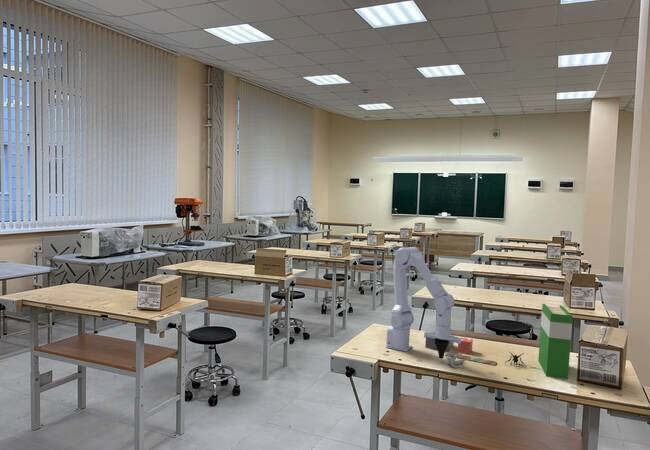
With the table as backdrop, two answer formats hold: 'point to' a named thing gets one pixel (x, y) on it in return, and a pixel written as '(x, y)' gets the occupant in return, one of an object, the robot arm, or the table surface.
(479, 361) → the track
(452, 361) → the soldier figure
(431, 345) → the dome base
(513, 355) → the creature
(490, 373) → the table surface
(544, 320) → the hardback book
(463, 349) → the die
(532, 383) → the table surface
